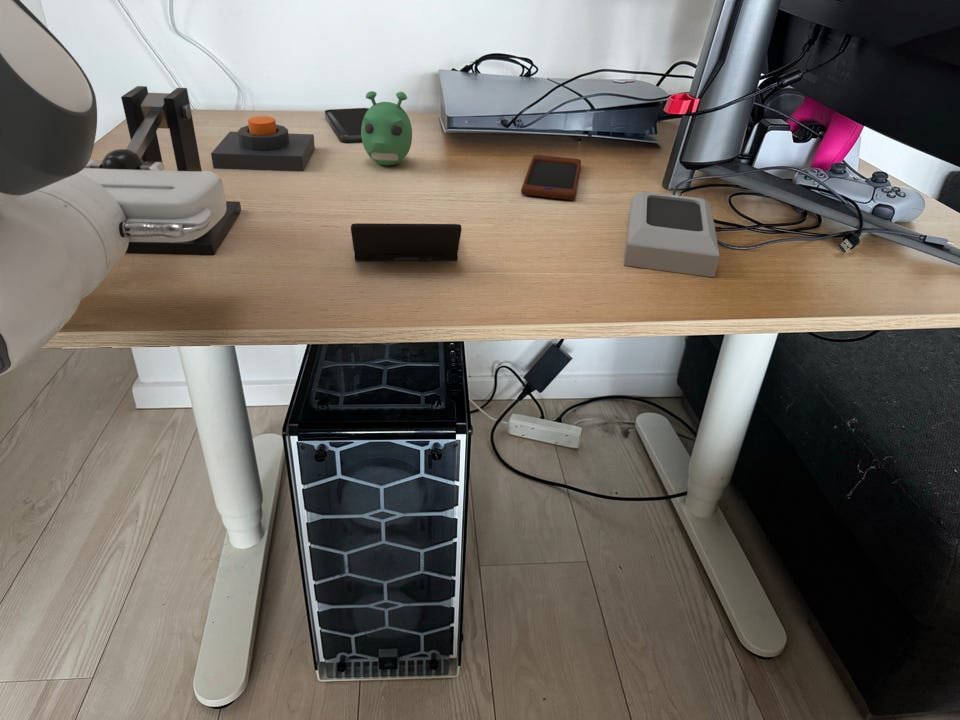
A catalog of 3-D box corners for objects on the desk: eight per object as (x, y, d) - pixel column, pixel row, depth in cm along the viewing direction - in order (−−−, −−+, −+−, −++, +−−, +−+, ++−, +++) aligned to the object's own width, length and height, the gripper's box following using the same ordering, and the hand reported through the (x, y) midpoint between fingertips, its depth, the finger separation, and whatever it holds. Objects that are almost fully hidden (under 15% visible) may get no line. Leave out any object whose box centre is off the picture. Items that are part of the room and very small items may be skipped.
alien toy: (356, 172, 97) (352, 96, 91) (368, 154, 103) (365, 83, 97) (407, 176, 96) (406, 100, 91) (416, 158, 103) (415, 86, 97)
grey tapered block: (629, 233, 74) (633, 185, 87) (623, 265, 76) (628, 214, 89) (722, 245, 73) (713, 195, 85) (714, 277, 75) (706, 223, 87)
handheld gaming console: (448, 216, 81) (452, 167, 71) (463, 272, 79) (470, 230, 69) (348, 235, 79) (339, 189, 70) (362, 293, 77) (354, 253, 68)
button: (246, 136, 96) (245, 123, 95) (252, 128, 99) (251, 115, 98) (273, 137, 96) (272, 124, 95) (279, 129, 99) (277, 116, 98)
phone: (340, 136, 106) (323, 109, 117) (341, 143, 106) (324, 116, 118) (392, 133, 108) (370, 107, 120) (392, 140, 109) (370, 114, 120)
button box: (213, 169, 95) (208, 139, 93) (231, 146, 103) (227, 118, 101) (303, 172, 96) (300, 142, 93) (314, 149, 104) (312, 121, 102)
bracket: (214, 255, 74) (187, 110, 66) (115, 252, 73) (76, 105, 65) (241, 210, 84) (221, 80, 75) (155, 208, 83) (125, 76, 75)
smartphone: (520, 188, 91) (533, 153, 104) (520, 195, 92) (532, 159, 104) (575, 194, 90) (581, 158, 103) (574, 201, 91) (580, 164, 103)
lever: (144, 198, 64) (132, 163, 61) (103, 197, 64) (89, 161, 61) (184, 120, 74) (175, 87, 71) (149, 119, 73) (139, 86, 71)
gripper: (193, 194, 52) (238, 138, 64) (-96, 186, 51) (3, 130, 62) (208, 271, 56) (248, 204, 67) (-62, 265, 54) (26, 198, 66)
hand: (128, 169), depth 65 cm, fingers closed on lever, 3 cm apart
